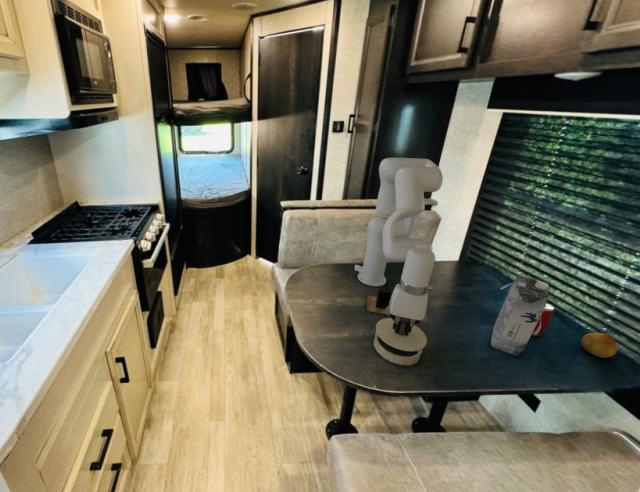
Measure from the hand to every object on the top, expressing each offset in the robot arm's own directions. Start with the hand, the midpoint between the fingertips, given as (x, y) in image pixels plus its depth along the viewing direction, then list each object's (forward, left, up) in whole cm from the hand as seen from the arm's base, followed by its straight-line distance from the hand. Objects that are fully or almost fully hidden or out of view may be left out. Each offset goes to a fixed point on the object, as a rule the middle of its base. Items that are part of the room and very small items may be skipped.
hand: (400, 331), depth 105 cm
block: (-14, +20, -8) cm, 25 cm away
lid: (0, 0, -1) cm, 1 cm away
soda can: (+32, +45, -8) cm, 56 cm away
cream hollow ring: (0, 0, -8) cm, 8 cm away
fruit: (+48, +47, -8) cm, 68 cm away
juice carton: (+26, +29, -8) cm, 40 cm away
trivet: (-14, +20, -8) cm, 26 cm away
